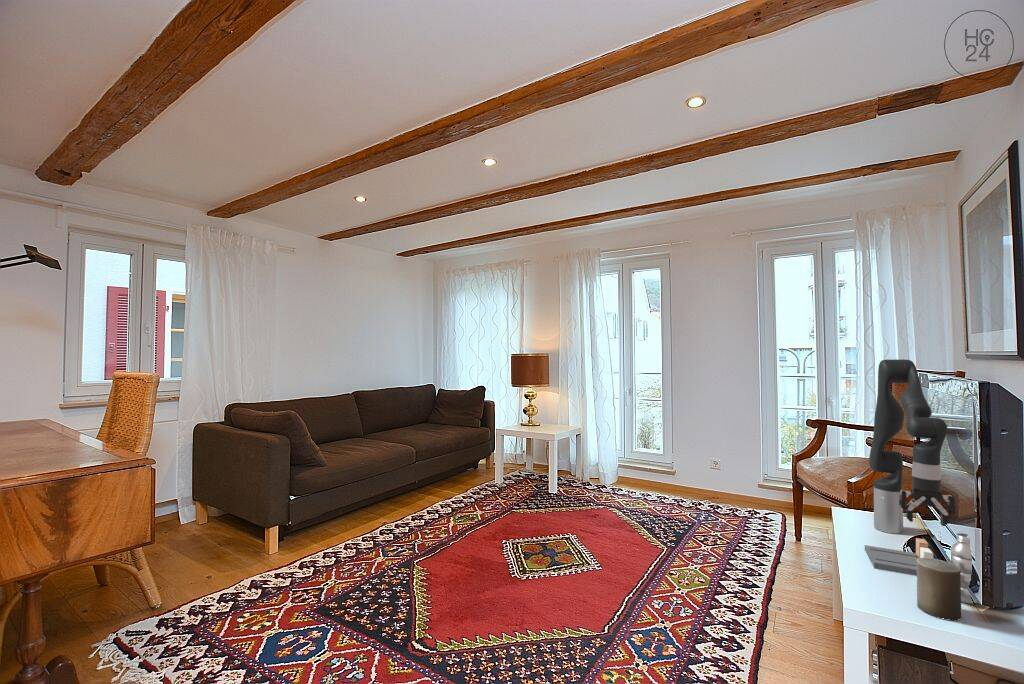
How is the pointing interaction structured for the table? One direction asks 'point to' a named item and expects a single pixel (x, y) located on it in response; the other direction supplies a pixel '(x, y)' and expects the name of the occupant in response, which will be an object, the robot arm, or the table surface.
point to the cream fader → (925, 553)
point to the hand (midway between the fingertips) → (926, 523)
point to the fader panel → (893, 560)
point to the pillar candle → (939, 588)
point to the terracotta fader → (920, 545)
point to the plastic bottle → (963, 564)
